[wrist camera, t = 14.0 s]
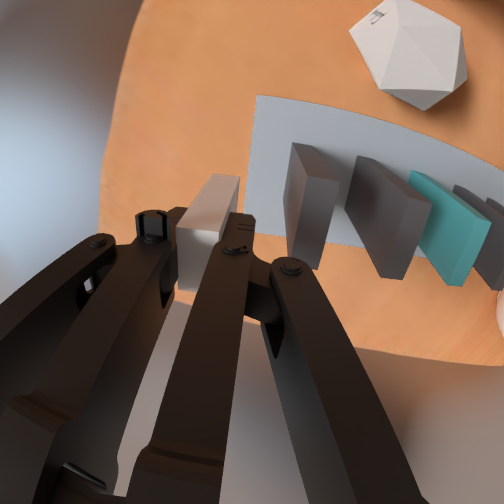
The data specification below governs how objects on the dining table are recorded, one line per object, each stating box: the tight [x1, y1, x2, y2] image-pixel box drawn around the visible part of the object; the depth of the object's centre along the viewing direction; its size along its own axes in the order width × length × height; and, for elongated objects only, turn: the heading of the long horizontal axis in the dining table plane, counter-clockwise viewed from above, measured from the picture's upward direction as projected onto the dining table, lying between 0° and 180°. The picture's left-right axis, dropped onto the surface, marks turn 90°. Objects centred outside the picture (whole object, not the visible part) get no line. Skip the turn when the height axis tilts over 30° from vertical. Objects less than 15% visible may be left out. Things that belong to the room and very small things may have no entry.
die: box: [349, 0, 468, 111], centre depth 13 cm, size 8×9×10 cm
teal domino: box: [408, 170, 491, 287], centre depth 18 cm, size 2×5×10 cm, turn 174°
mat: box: [243, 95, 504, 258], centre depth 22 cm, size 30×12×1 cm, turn 83°
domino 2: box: [344, 155, 433, 280], centre depth 18 cm, size 2×5×10 cm, turn 173°
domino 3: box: [452, 185, 504, 291], centre depth 18 cm, size 2×5×10 cm, turn 174°
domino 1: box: [283, 142, 340, 270], centre depth 18 cm, size 2×5×10 cm, turn 174°
